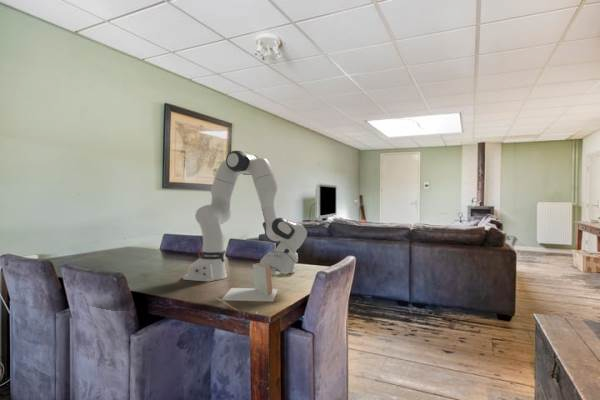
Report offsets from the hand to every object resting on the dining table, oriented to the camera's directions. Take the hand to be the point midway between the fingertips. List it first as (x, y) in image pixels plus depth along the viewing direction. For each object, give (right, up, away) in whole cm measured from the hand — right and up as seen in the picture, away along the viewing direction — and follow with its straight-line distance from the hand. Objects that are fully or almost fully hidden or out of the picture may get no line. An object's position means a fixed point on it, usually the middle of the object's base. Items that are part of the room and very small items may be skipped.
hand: (266, 276), depth 151 cm
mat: (-6, -7, -5) cm, 11 cm away
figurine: (+10, -7, +40) cm, 42 cm away
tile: (-1, -6, -1) cm, 7 cm away
